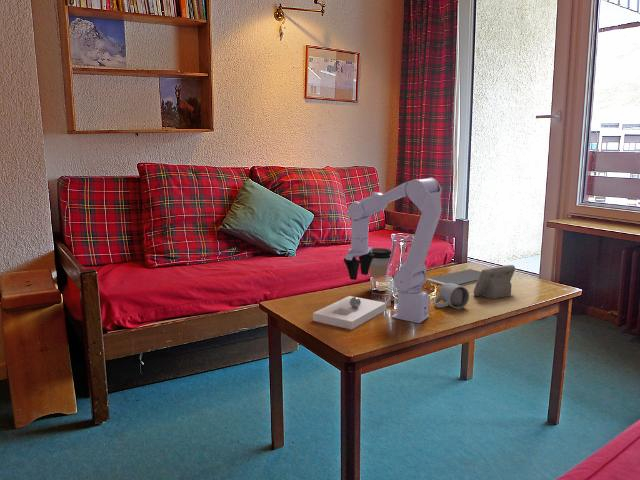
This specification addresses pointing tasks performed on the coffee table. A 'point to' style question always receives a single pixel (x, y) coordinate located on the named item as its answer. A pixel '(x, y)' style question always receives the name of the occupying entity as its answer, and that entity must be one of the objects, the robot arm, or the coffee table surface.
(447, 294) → the ceramic mug
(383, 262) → the coffee cup
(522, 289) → the coffee table surface
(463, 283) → the grey flat slab
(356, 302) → the steel ball
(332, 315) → the hole plate
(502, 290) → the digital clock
